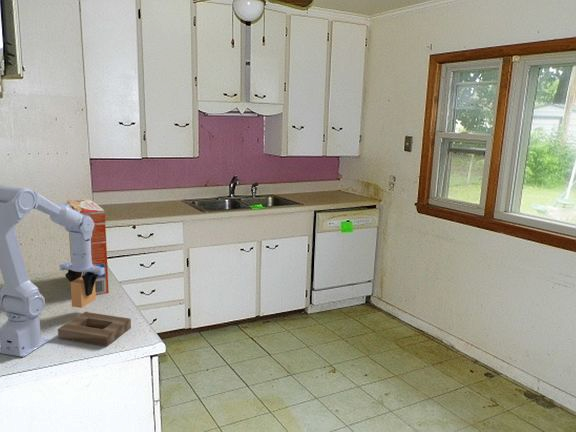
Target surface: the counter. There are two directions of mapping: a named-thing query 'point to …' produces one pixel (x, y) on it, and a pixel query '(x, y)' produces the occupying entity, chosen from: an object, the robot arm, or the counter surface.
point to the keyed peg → (81, 293)
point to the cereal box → (95, 239)
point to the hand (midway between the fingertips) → (83, 293)
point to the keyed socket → (94, 329)
